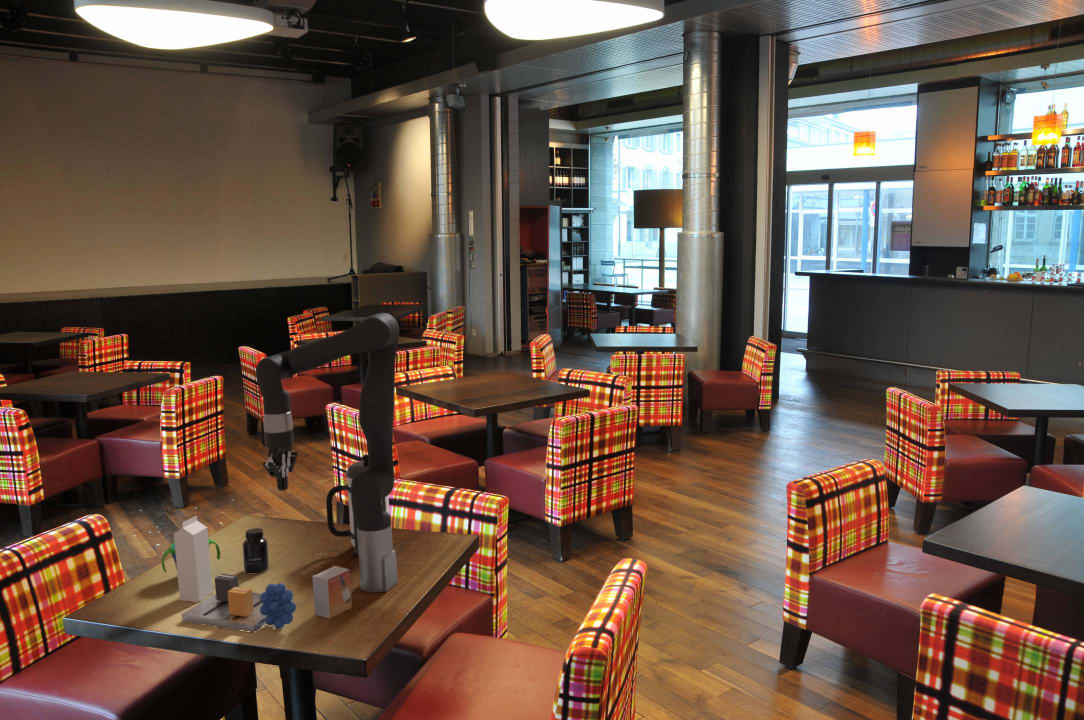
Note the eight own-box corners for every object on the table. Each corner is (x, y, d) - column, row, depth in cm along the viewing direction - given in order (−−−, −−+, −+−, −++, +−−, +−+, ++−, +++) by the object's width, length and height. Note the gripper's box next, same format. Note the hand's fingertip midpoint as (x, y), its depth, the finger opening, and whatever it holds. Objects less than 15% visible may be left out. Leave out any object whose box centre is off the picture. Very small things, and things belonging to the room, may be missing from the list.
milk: (179, 601, 221) (171, 522, 218) (194, 591, 227) (186, 514, 224) (199, 602, 220) (191, 523, 216) (213, 593, 225) (206, 515, 222)
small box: (329, 619, 208) (327, 580, 206) (314, 615, 211) (311, 575, 209) (352, 607, 215) (350, 569, 213) (337, 602, 217) (334, 564, 216)
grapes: (309, 626, 205) (306, 580, 203) (288, 637, 199) (286, 590, 197) (275, 616, 210) (272, 571, 209) (254, 627, 204) (251, 581, 203)
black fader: (239, 597, 217) (238, 575, 216) (232, 602, 214) (230, 579, 213) (224, 595, 218) (222, 572, 217) (216, 600, 215) (214, 577, 214)
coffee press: (370, 535, 266) (365, 445, 262) (405, 545, 257) (401, 452, 252) (327, 553, 252) (321, 458, 248) (363, 564, 243) (357, 465, 239)
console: (294, 605, 217) (293, 597, 216) (254, 633, 202) (253, 625, 201) (225, 595, 224) (224, 588, 223) (182, 621, 209) (181, 613, 208)
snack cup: (165, 589, 229) (161, 554, 227) (161, 576, 238) (158, 542, 236) (224, 577, 236) (221, 543, 235) (219, 564, 245) (216, 532, 244)
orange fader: (253, 611, 208) (251, 588, 207) (245, 616, 205) (243, 593, 204) (237, 609, 210) (235, 585, 209) (229, 614, 207) (227, 590, 206)
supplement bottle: (253, 576, 236) (250, 536, 234) (239, 571, 240) (236, 531, 238) (274, 568, 241) (271, 529, 239) (260, 563, 245) (257, 525, 244)
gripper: (274, 434, 217) (279, 498, 220) (304, 423, 229) (308, 483, 232) (251, 433, 220) (256, 496, 222) (281, 422, 232) (286, 482, 234)
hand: (283, 489), depth 227 cm, fingers closed
